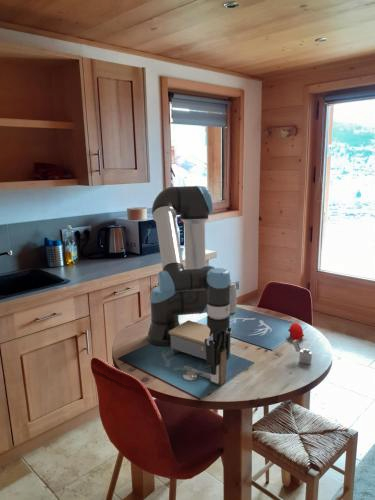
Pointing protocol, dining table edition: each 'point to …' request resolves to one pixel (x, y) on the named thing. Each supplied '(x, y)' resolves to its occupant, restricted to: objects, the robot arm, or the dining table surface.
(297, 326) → the red egg shape
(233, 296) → the energy drink can
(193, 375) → the steel token
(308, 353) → the lighter
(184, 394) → the dining table surface
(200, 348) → the cabinet
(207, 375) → the blade tool
